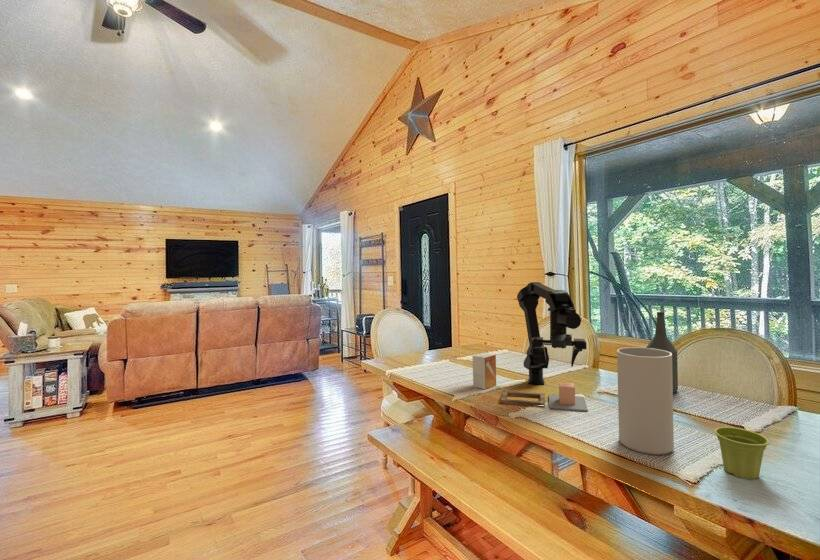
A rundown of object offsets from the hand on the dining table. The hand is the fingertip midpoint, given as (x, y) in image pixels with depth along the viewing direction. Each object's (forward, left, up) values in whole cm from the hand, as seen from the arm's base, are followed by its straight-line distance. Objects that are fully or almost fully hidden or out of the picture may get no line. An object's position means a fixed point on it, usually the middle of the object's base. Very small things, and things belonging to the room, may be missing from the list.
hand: (558, 365), depth 144 cm
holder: (+8, -13, -12) cm, 19 cm away
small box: (-6, -29, -12) cm, 32 cm away
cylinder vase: (+37, +20, -12) cm, 43 cm away
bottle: (-17, +37, -12) cm, 43 cm away
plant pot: (+47, +37, -12) cm, 61 cm away
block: (+8, +2, -11) cm, 13 cm away
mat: (+8, +2, -12) cm, 14 cm away
